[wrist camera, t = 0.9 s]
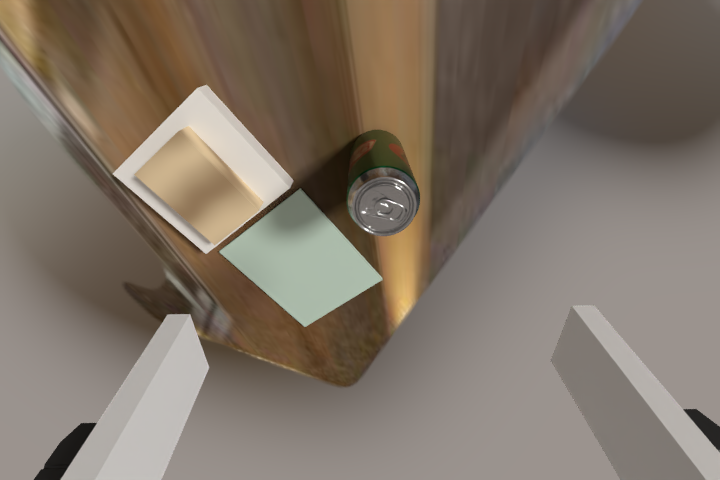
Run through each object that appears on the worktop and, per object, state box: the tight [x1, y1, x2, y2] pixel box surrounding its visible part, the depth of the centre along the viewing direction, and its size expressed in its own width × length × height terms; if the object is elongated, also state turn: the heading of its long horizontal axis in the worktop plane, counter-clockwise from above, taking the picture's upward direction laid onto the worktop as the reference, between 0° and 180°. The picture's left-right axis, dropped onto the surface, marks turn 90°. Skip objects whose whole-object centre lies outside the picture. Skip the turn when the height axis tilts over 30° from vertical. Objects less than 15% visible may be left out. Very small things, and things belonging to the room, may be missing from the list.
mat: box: [219, 188, 382, 327], centre depth 40 cm, size 14×12×1 cm
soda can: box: [347, 130, 420, 236], centre depth 29 cm, size 5×5×12 cm
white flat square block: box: [113, 85, 294, 254], centre depth 34 cm, size 11×12×2 cm
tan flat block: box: [134, 126, 263, 245], centre depth 32 cm, size 9×6×2 cm, turn 38°
